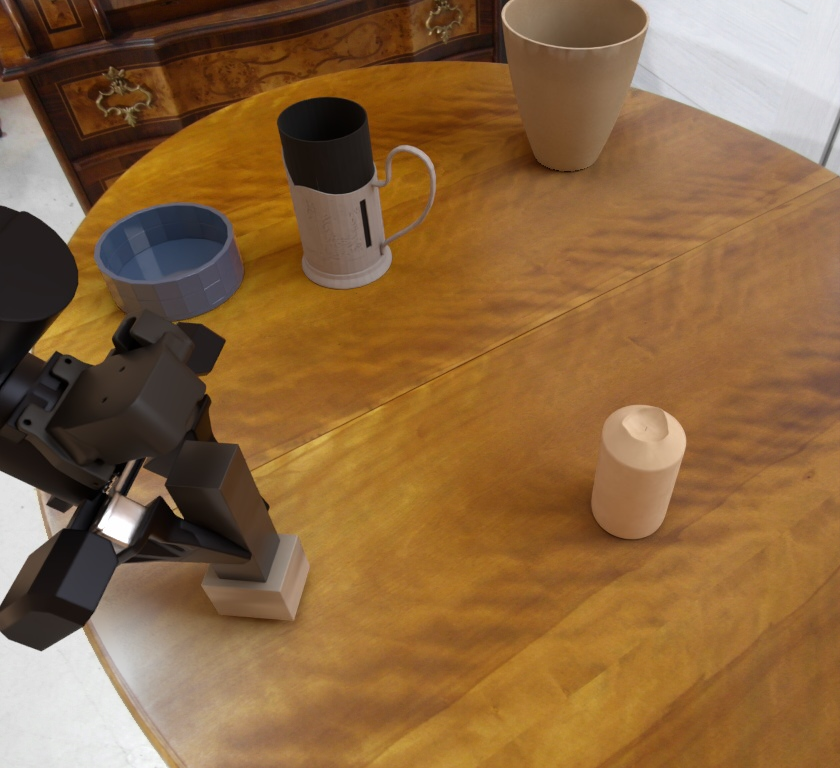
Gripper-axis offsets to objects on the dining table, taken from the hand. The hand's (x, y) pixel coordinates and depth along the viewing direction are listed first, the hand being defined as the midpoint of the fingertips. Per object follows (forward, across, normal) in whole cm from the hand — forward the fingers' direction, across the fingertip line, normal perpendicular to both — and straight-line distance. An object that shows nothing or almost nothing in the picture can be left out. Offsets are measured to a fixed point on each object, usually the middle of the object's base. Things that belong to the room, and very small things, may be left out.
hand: (257, 535), depth 46 cm
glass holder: (+5, +35, +7) cm, 36 cm away
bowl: (-8, +31, +19) cm, 37 cm away
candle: (+22, +10, -11) cm, 26 cm away
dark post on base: (+4, 0, +6) cm, 7 cm away
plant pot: (+17, +57, -6) cm, 60 cm away
